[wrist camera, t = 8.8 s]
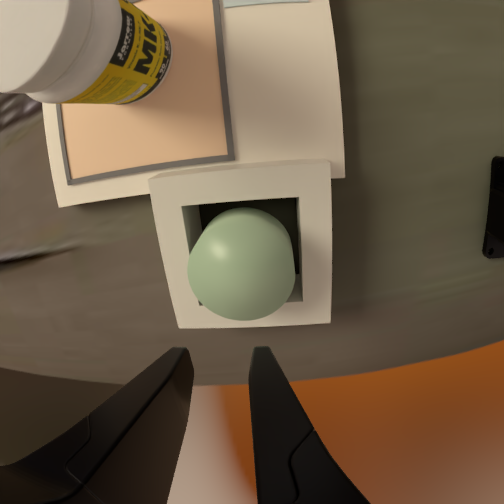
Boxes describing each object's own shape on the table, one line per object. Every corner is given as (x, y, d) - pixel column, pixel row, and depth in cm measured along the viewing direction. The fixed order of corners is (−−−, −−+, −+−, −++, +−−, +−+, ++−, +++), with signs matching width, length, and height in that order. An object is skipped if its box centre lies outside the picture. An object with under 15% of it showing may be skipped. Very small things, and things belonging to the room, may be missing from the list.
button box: (320, 155, 16) (330, 163, 13) (323, 293, 19) (330, 322, 16) (168, 169, 17) (147, 179, 14) (191, 299, 20) (178, 328, 17)
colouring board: (312, -61, 11) (314, -72, 9) (340, 173, 16) (345, 178, 15) (52, -1, 12) (39, -5, 11) (69, 202, 18) (56, 208, 16)
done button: (290, 203, 14) (292, 220, 12) (294, 290, 16) (296, 318, 14) (192, 211, 15) (178, 228, 12) (206, 294, 16) (197, 321, 14)
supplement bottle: (185, 86, 14) (93, 60, 6) (101, 118, 14) (-20, 134, 7) (164, 4, 12) (76, -67, 4) (84, 40, 13) (-30, 15, 5)
